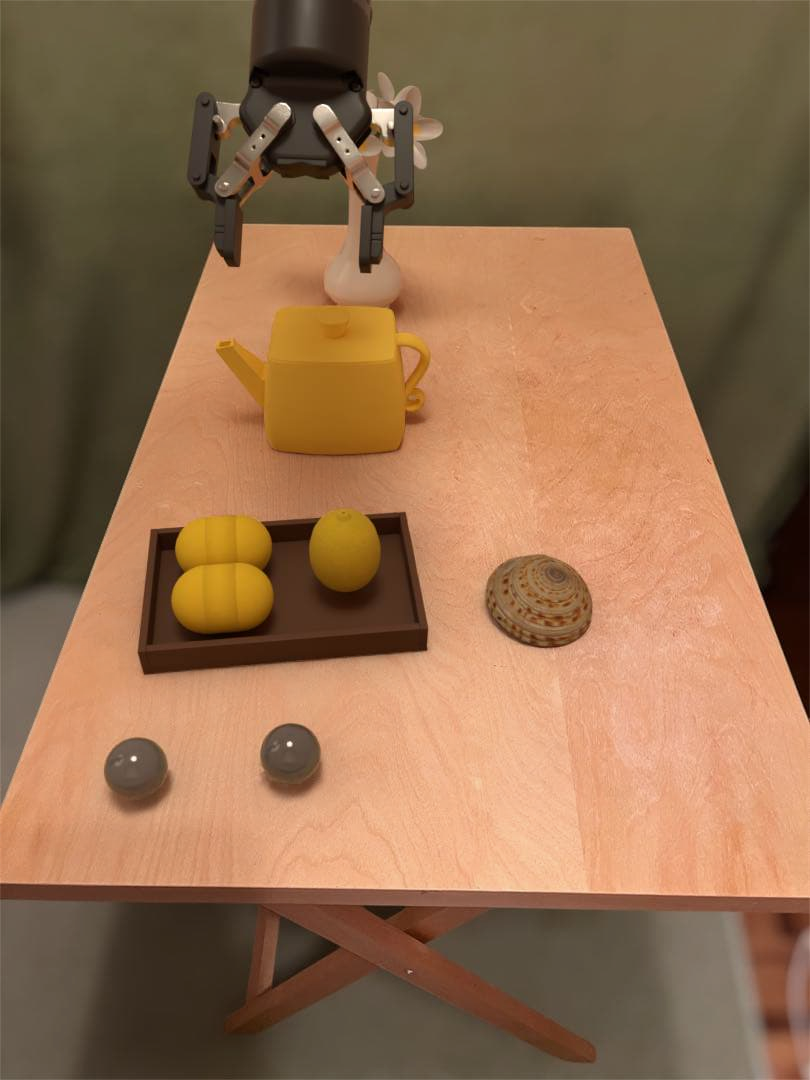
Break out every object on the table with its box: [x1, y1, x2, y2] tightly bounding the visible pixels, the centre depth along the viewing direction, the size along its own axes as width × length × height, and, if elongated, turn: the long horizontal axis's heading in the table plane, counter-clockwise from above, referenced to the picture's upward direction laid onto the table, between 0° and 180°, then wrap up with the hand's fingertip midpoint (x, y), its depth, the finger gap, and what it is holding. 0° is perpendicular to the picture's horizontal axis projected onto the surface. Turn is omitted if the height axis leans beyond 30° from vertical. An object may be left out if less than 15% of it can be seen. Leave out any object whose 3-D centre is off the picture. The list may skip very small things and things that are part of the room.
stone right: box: [259, 722, 322, 786], centre depth 60 cm, size 4×4×4 cm
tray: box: [137, 511, 429, 675], centre depth 72 cm, size 21×13×3 cm, turn 97°
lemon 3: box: [309, 507, 381, 592], centre depth 71 cm, size 6×6×8 cm
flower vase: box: [322, 71, 444, 309], centre depth 99 cm, size 13×18×25 cm
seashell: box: [485, 553, 593, 647], centre depth 73 cm, size 8×6×8 cm
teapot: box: [215, 305, 431, 456], centre depth 87 cm, size 20×12×12 cm, turn 92°
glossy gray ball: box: [103, 736, 169, 801], centre depth 59 cm, size 4×4×4 cm
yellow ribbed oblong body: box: [171, 563, 274, 634], centre depth 69 cm, size 8×5×5 cm
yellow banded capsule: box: [175, 514, 272, 572], centre depth 73 cm, size 8×5×5 cm
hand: (298, 266), depth 58 cm, fingers open, 8 cm apart
